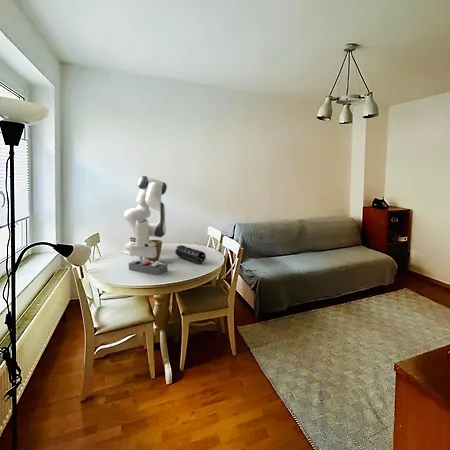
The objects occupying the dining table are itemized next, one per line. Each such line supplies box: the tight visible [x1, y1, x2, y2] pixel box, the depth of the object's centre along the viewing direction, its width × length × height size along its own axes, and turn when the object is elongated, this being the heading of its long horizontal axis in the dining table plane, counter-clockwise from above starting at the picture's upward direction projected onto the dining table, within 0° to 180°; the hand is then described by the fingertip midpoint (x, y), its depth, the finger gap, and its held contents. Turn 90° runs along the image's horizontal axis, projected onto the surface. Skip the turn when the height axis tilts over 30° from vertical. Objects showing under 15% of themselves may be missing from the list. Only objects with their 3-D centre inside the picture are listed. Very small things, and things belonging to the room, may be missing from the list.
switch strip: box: [128, 258, 169, 276], centre depth 209 cm, size 26×10×5 cm, turn 65°
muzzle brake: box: [174, 244, 207, 265], centre depth 233 cm, size 10×28×10 cm, turn 45°
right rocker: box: [151, 260, 161, 267], centre depth 204 cm, size 3×6×2 cm, turn 155°
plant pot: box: [146, 239, 163, 262], centre depth 229 cm, size 15×15×16 cm
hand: (143, 262), depth 204 cm, fingers closed
